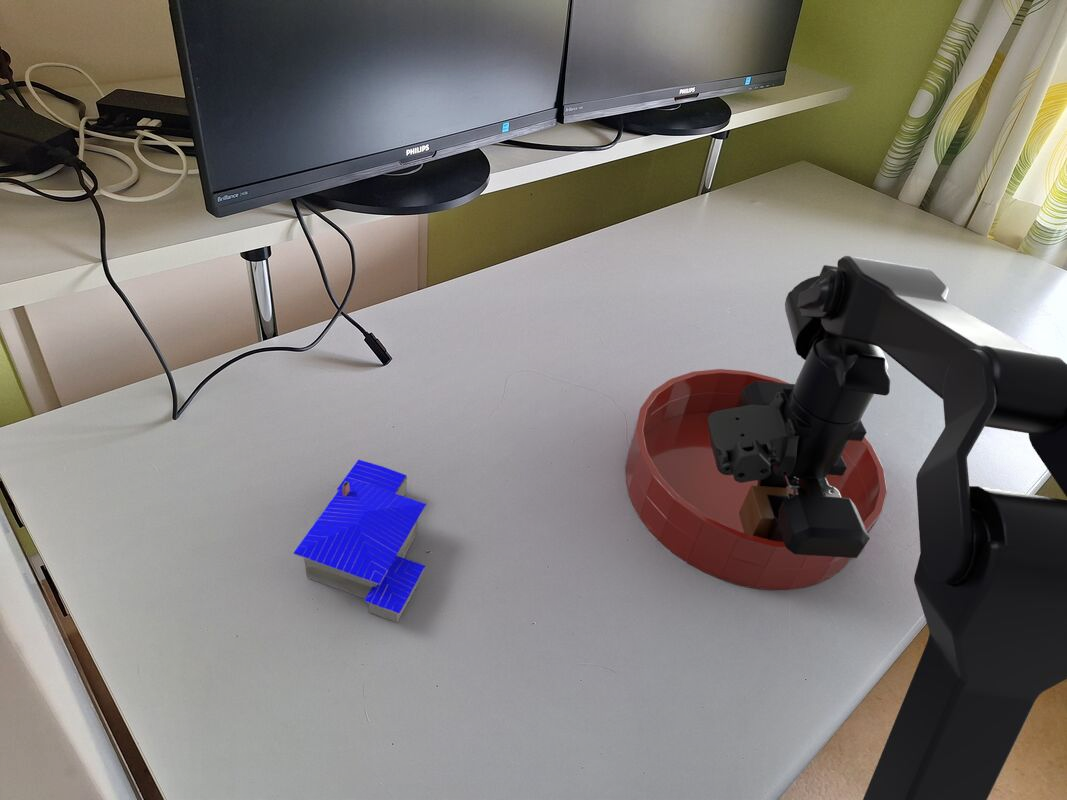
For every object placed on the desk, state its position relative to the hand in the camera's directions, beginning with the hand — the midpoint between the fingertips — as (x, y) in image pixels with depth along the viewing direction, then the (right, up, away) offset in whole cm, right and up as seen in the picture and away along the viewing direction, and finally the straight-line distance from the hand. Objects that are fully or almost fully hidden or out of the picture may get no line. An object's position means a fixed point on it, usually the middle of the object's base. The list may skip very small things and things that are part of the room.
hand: (767, 523), depth 72 cm
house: (-38, -3, -1) cm, 38 cm away
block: (0, -1, +1) cm, 1 cm away
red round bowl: (0, +2, +10) cm, 10 cm away
